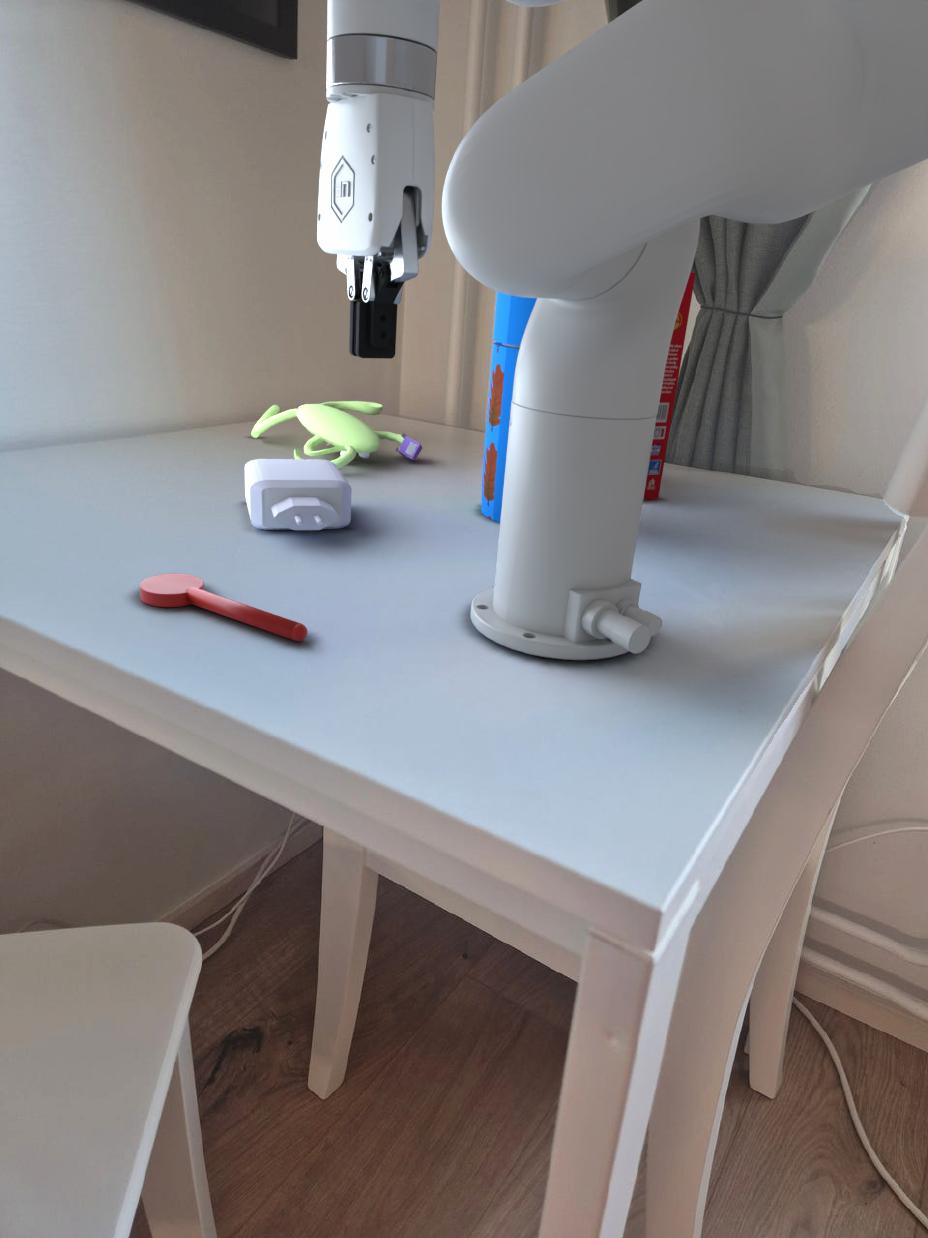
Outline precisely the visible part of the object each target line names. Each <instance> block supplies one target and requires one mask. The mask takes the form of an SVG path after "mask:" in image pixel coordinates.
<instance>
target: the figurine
mask: <svg viewBox="0 0 928 1238" xmlns="http://www.w3.org/2000/svg"><path fill="white" fill-rule="evenodd" d="M383 408H384V407H383V404H380V403H378V402H373V401H362V400H339V401H325V402H322V403H304V404H302V405H300V406H298V408H290V409H287V410H285V411H282V412H281V408H280V407H279V405H277V404H273V405H271V406H270V407H269V408H268V409H267V410H266V411H265V412H264V413H263V414H262V416H260V418H259V419H258V420H257V422H256V423H255V424H254V425H253V427H252V429H251V432H250V435H251V437H252V438H255V439H257V438H258V437H259V436H260V435H261V434H263V433H265V432H266V431H267V430H269V429H270V428H272V427H274V426H277V425H278V424H281V423H283V422H286V421H289V420H291V419H295V418H297V419H298V421H299V422H300V423H301V425H302V426H303V427H304V428H305V429H306V430H307V431H308V432H309V433H310V434H311V435H313V437H311V438H309V439H308V440H307V441H306V443H305V444H304V446H303V454H304V455H306V456H309V457H319V456H324V455H328V454H329V455H330V454H334V453H339V454H340V456H338V457H337V458H335V459H332V460H330V461H331V462H333V463H334V464H335V465H336V466H337V467H338V469H339V470H340V469H341V468H343V467H345V466H346V465H348V464H349V463H351V462H352V461H354V460H355V458H356V455H357V453H358V456H359V457H360V458H362V459H369V458H370V455H371V453H373V452H377V451H378V450H380V448H381V441H382V440H387V441H395V442H398V443H400V446H399V447H396V448H395V452H397V453H398V454H399V455H401V456H403V457H404V458H408V459H410V460H412V461H416V460H417V459H418V457H419V455H420V453H421V452H422V450H423V446H422V444H421V443H420V442H418V441H417V440H414V438H411V437H409V436H408V435H407V434H406V433H404V432H403V433H401V434H399V433H396V432H391V431H380V430H374V429H373V428H372V427H371V426H370V425H368V424H367V423H366V422H364V420H361V419H360V418H358V417H357V416H355V415H353V414H351V413H350V412H347V411H344V410H349V411H355V412H358V413H362V414H365V415H368V416H378V415H381V413H382V412H383ZM324 442H325V443H327V444H326V446H328V445H332V446H333V447H329V448H324V449H319V450H314V449H315V448H316V447H317V446H318V445H320V444H322V443H324ZM293 457H294V459H303V458H302V456H301V454H300V448H298V447H295V448H294V450H293Z"/></svg>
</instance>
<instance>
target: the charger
mask: <svg viewBox="0 0 928 1238" xmlns="http://www.w3.org/2000/svg"><path fill="white" fill-rule="evenodd" d="M331 461H332V460H327V459H321V458H320V459H316V458H315V459H314V458H302V459H295V458H255V459H252V460H249V461H247V462H246V463H245V465H244V493H245V494H244V497H245V501H246V506H247V510H248V514H249V519H250V524H251V525H252V526H253V527H255V528H257V529H259V530H263V531H283V530H284V531H287V530H289V531H290V530H291V531H292V530H293V531H321V530H339V529H343V528H345V527H347V526H349V524H350V523H351V521H352V486H351V484H350V483H349V482H348V479H346V478H345V476H344V475H343V472H342V471H341V470H340V468H339V469H338V467H337V466H336V465H335V464H334V463H333V462H331Z"/></svg>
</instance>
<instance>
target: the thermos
mask: <svg viewBox="0 0 928 1238" xmlns="http://www.w3.org/2000/svg"><path fill="white" fill-rule="evenodd" d="M536 300H537V298H526V297H517V296H512V295H507V294H504V293H500V292H497V291H496V299H495V310H494V323H493V324H494V325H493V334H492V335H493V337H492V340H493V343H492V348H491V361H490V374H489V386H488V398H487V399H488V400H487V410H486V411H487V412H486V423H485V424H486V425H485V434H484V435H485V436H484V448H483V461H482V474H481V508H480V509H481V510H480V511H481V513H482V514H483V516H484V517H486V518H488V519H490V520H491V521H494V522H497V523H500V521H501V510H502V499H503V488H504V477H505V466H506V456H507V445H508V434H509V423H510V412H511V401H512V396H513V385H514V376H515V368H516V363H517V358H518V353H519V349H520V345H521V341H522V338H523V335H524V332H525V329H526V326H527V323H528V321H529V318H530V315H531V313H532V310H533V308H534V305H535V303H536Z"/></svg>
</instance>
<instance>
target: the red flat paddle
mask: <svg viewBox="0 0 928 1238" xmlns="http://www.w3.org/2000/svg"><path fill="white" fill-rule="evenodd" d="M139 593H140V594H139V595H140V596H139V597H140V600H141V601H142V602H143V603H144V604H147V605H149V606H153V607H159V608H178V607H187V606H190V605H193V606H196V607H199V608H202V609H205V610H207V611H209V612H212V613H216V614H219V615H221V616H224V617H227V618H230V619H232V620H235V621H238V622H240V623H244V624H247V625H249V626H252V627H255V628H258V629H261V630H263V631H266V632H269V633H272V634H275V635H277V636H280V637H282V638H286V639H289V640H292V641H295V642H302V641H304V640H305V639H306V638H307V637H308V628H307V626H305V624H303V623H300V622H297V621H295V620H292V619H290V618H286V617H283V616H280V615H277V614H275V613H271V612H270V611H269V612H268V611H265V610H262V609H260V608H257V607H254V606H251V605H248V604H245V603H242V602H239V601H236V600H233V599H231V598H227V597H225V596H221V595H219V594H216V593H213V592H209V591H207V590H205V581H204V580H203V579H202V577H199V576H197V575H194V574H191V573H190V574H189V573H182V572H181V573H180V572H170V573H161V574H160V573H159V574H155V575H152V576H149V577H146V578H144V579H143V580H142V581H141V582H140V583H139Z"/></svg>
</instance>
